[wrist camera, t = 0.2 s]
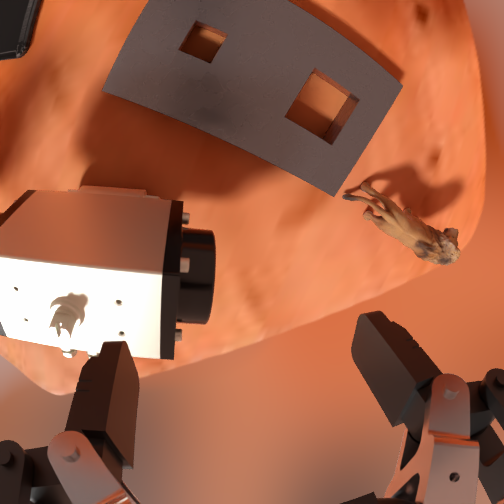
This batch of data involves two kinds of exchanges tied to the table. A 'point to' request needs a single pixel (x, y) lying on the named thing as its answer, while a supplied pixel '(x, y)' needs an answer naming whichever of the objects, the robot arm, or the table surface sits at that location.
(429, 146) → the table surface
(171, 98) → the grey board with holes
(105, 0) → the table surface
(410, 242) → the lion figurine
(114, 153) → the table surface
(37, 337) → the security camera
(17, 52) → the phone
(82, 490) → the robot arm
